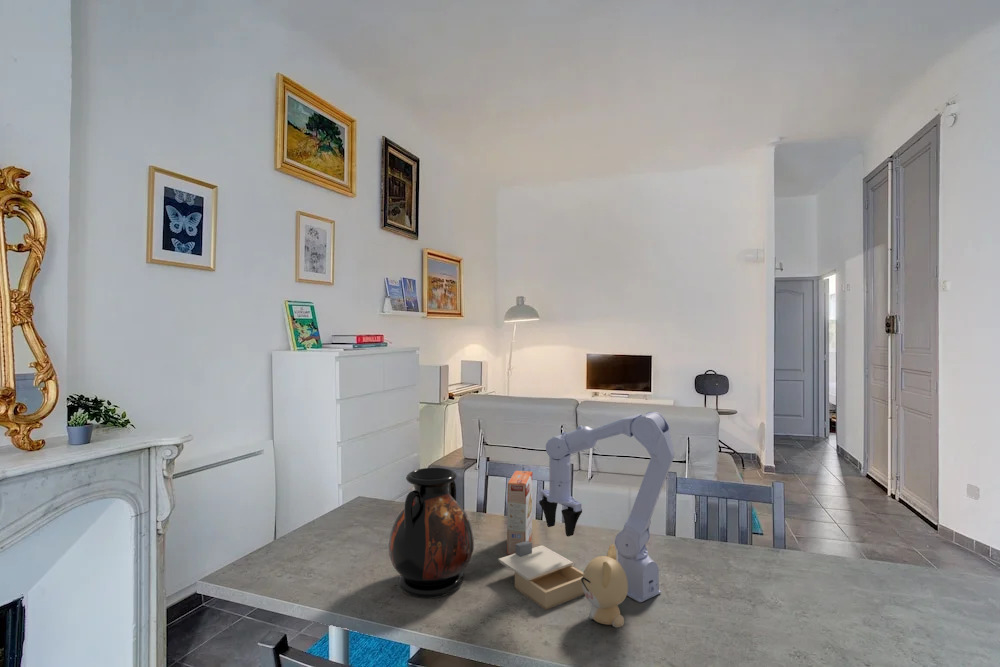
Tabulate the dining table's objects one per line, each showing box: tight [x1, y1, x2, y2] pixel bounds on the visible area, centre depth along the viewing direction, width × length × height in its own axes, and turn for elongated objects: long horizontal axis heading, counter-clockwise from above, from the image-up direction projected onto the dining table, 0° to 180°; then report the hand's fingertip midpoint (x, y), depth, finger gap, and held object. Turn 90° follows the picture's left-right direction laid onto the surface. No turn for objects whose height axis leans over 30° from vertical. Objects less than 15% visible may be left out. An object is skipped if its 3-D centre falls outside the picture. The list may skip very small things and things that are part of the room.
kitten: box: [581, 543, 628, 628], centre depth 108 cm, size 15×10×15 cm
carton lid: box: [498, 541, 574, 581], centre depth 125 cm, size 13×15×3 cm
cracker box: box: [506, 470, 533, 556], centre depth 146 cm, size 14×6×21 cm, turn 168°
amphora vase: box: [388, 467, 475, 599], centre depth 124 cm, size 22×22×28 cm
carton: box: [514, 565, 585, 611], centre depth 120 cm, size 12×14×4 cm
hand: (560, 530), depth 131 cm, fingers open, 7 cm apart
